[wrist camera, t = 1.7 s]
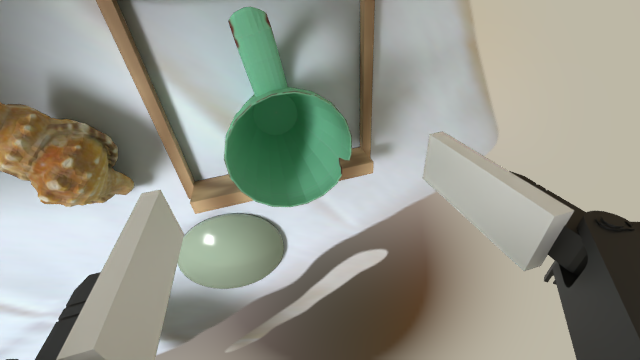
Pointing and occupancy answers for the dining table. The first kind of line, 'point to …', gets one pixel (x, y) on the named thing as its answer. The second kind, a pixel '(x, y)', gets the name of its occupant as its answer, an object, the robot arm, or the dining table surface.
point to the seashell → (59, 157)
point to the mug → (281, 127)
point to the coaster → (230, 251)
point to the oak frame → (223, 188)
